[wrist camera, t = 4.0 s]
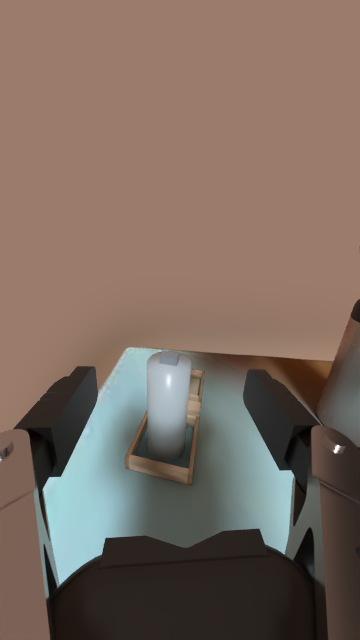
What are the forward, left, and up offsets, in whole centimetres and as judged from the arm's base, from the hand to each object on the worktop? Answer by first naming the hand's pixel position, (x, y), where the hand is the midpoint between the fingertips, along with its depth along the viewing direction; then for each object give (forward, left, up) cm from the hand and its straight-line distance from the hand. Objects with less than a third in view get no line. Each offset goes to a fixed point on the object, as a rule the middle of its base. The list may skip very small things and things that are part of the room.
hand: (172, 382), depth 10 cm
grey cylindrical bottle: (+3, -10, -18) cm, 21 cm away
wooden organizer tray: (+3, -16, -18) cm, 24 cm away
